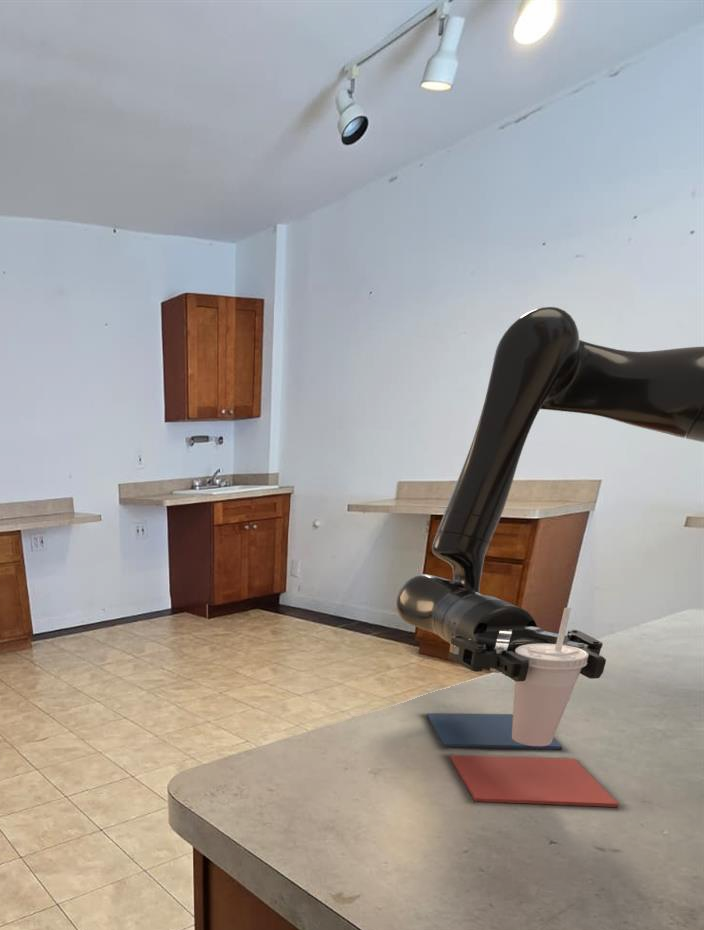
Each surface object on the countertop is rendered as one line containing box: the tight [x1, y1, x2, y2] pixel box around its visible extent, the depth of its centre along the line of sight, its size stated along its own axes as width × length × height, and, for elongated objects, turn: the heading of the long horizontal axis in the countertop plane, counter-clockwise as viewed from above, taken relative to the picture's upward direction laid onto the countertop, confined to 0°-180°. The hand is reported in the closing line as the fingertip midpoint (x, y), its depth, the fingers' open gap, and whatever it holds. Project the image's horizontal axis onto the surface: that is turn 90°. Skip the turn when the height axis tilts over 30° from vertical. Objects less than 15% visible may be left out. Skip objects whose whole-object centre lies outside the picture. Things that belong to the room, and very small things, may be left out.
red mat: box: [450, 754, 619, 808], centre depth 69 cm, size 13×11×1 cm
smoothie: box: [512, 607, 589, 746], centre depth 65 cm, size 6×6×14 cm
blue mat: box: [426, 712, 563, 750], centre depth 82 cm, size 13×11×1 cm
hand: (561, 670), depth 63 cm, fingers closed on smoothie, 6 cm apart
